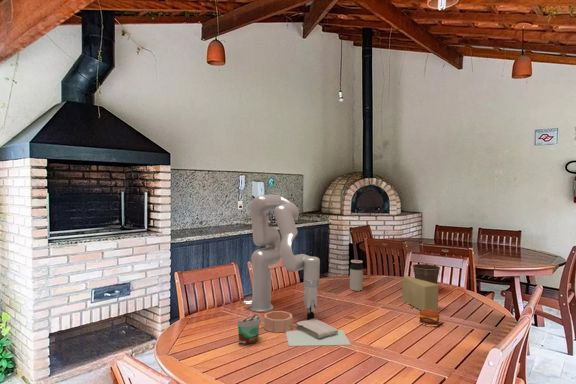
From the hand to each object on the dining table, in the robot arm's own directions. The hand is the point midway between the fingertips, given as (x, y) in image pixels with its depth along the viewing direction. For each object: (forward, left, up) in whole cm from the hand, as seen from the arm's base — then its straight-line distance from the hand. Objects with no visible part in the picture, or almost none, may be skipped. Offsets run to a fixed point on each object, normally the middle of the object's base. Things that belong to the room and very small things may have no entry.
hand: (310, 320), depth 192 cm
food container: (-28, -22, -1) cm, 36 cm away
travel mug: (+37, +56, -1) cm, 67 cm away
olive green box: (+62, +22, -1) cm, 65 cm away
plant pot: (+79, +49, -1) cm, 93 cm away
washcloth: (+1, -12, -1) cm, 12 cm away
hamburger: (+57, -4, -1) cm, 57 cm away
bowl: (-16, -6, -1) cm, 17 cm away
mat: (0, -19, -1) cm, 19 cm away
